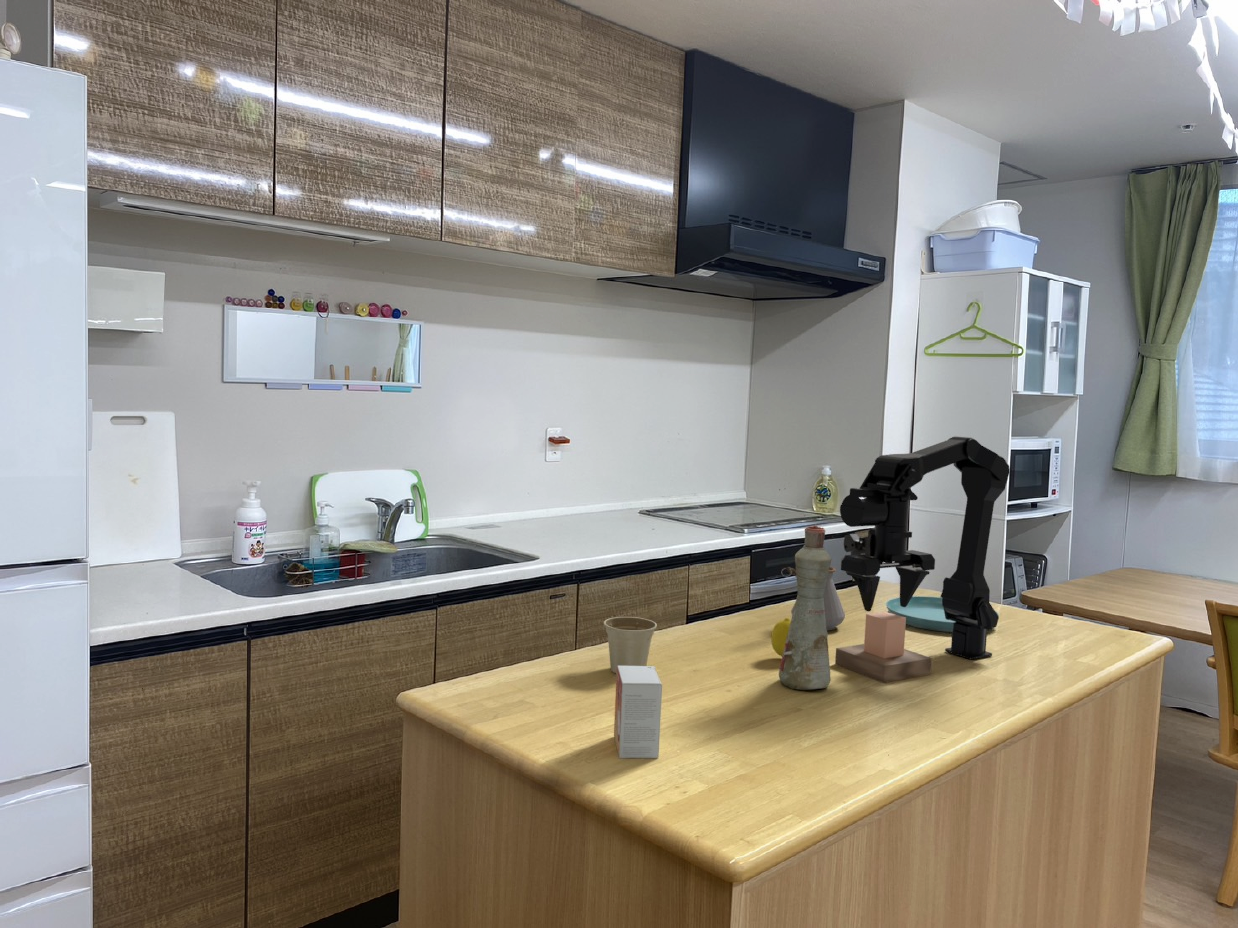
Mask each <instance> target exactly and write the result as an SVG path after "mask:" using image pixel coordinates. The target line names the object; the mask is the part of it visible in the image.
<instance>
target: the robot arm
mask: <svg viewBox="0 0 1238 928" xmlns="http://www.w3.org/2000/svg"><path fill="white" fill-rule="evenodd" d="M950 465H953V466H954V467H955V468H956V469H957V470H958V471H959V472H960V473H961V474H960V475H961V476H960V477H961V478H960V480H961V481H960V483H961V486H962V489H963V491H964V494H965V496H966V504H965V510H964V512H965V513H964V519H963V523H962V524H963V525H962V531H961V538H960V546H959V550H958V556H957V557H958V559H957V565H956V570H955V572H953V574H952V575H951V576H950V577H947V576H946V577H944V579H943V581H942V592H941V594H940V596H939V597H941V598H942V606H943V608H944V613H945V618H946V619H947V620H952V621H955V623H953V631H952V632H951V643H950V644H951V646H950V647H946V648H945V649H944V651H945V652H947V653H951V654H953V655H956V656H959V657H963V658H964V659H965V658H966V659H969V660H975V659H976V660H977V659H982V658H988V657H992V656H993V652H988V651H986V649H987V637H988V636H987V635H988V630H993V629H994V628H996V627H997V625H998V621H999V618H1000V615H999V616H998V615H997V613H998V612H997V611H996V610H995V608H994V607H993V606H992V604H991V603H990V594H991V593H990V592H991V591H990V587H989V585H988V583H987V580H986V578H985V574H984V573H985V566H986V559H987V552H988V548H989V547H988V546H989V541H990V540H989V539H990V533H991V525H992V521H993V520H992V519H993V513H994V506H995V502H996V501H997V499H998V498H999V497H1000V496H1001V495H1002V493H1003V492H1004V491H1005V490H1006V486H1007V483H1008V479H1009V476H1010V465H1009V463H1007V460H1006V459H1005V458H1004V457H1003V456H1000V455H999V454H998V453H997V452H995V451H992V450H991V449H989V448H987V447H986V446H984V445H982V444H981V443H980V442H979V441H977V440H976V439H974V438H973V437H968V436H967V437H966V436H952V437H950V438H948V439H947V440H944V441H941V442H938V443H936V444H933V445H929V446H927V447H925V448H921V449H919V450H915V451H913V452H910V453H890V454H882V455H879V456H877V458H875V459H874V464H873V465H872V466H871V468H870V470H869V472H868V473H867V474H866V477H865V478H864V480H863V482H862V484H861V485H860V486H859V488H857V487H851V488H850V489H849V494H848V495H847V496H845V497H844V499H843V500H842V502H841V504H840V505H839V515H840V518H841V520H842V522H843V523H844V524H845V525H846V526H848V527H850V528H854V527H872V528H869V529H868V533H867V536H865V537H863V536H862V537H859V535H858V534H857V533H850V534H846V535H844V539H843V548H844V551H845V552H846V553H850V554H845V555H844V556H843V557H842V558H841V561H840V562H841V563H840V570H841V571H844V572H845V573H846V575H847V576H849V577H852V579H853V580H854V581H855V583H856V586H857V589H858V591H859V594H860V598H861V601H862V605H863V608H864V611H865V612H871V611H872V608H873V606H874V602H875V598H876V595H877V590H878V587H879V583H880V579H881V576H879V575H878V573H879V572H880V570H881V569H887V568H895V570H896V571H897V574H898V575H899V598H900V606H901V607H906V606H907V605H908V603H909V601H910V600H911V598H912V596H914V595H915V593H916V591H917V589H918V588H919V586H920V585H921V583H922V582H923V580H925V578H926V576H928V575H930V573H931V572H930V571H933V570H935V568H936V567H935V565H936V559H935V558H934V556H933V554H932V553H929V552H924V551H923V552H922V551H918V550H913V549H910V550H907V539H909V538H910V539H911V538H913V531H909V530H908V521H909V511H910V510H909V508H910V507H909V506H910V501H917V500H918V499H919V498H918V496H917V494H915V492H914V491H913V490H912V489H911V488H912V487H914V486H916V485H917V484H919V483H921V482H922V480H923V478H924V476H925V475H927V474H929V473H931V472H932V473H933V472H934V471H936V470H940V469H942V468H944V467H945V468H946V467H948V466H950ZM995 611H996V612H997V613H996V612H995Z"/></svg>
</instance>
